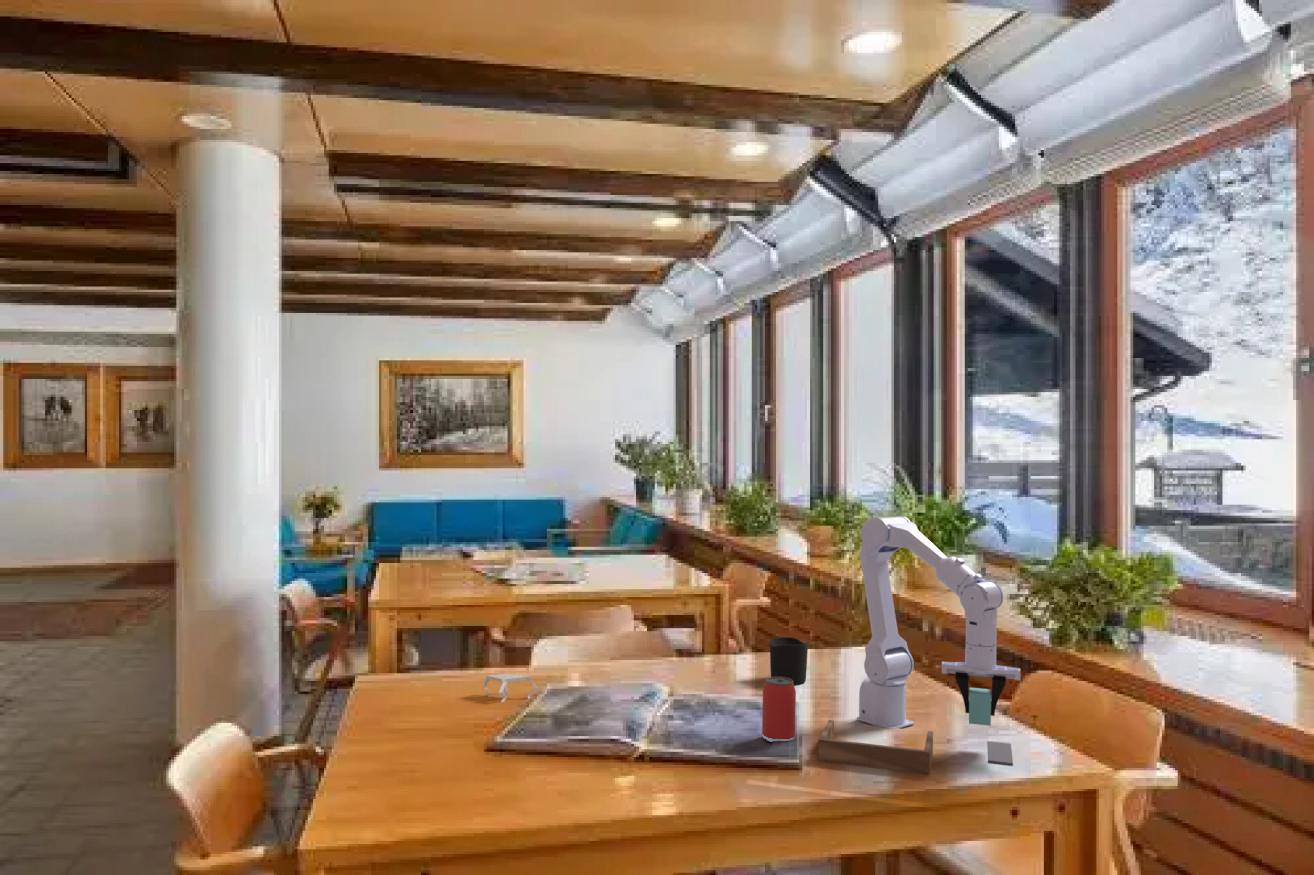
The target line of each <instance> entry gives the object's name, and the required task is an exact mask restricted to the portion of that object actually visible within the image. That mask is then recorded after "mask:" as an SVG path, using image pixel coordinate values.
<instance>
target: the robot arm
mask: <svg viewBox="0 0 1314 875" xmlns="http://www.w3.org/2000/svg"><path fill="white" fill-rule="evenodd" d="M860 536H861V537H860V538H861V547H860V553H859V556H860V557H859V558H860V564H861V565H860V566H861V570H862V571H861V572H862V578H863V582H864V583H863V584H864V590H865V597H866V603H867V610H868V611H867V612H868V616H869V618H868V619H869V624H870V631H871V636H872V637H871V639H870V640H869V642H868V643H867V644H866V646H865V647H864V649H865V650H864V651H865V658H864V663H863V666H864V667H863V668H864V671H865V672H864V673H865V674H866V676H867V677H866V678H865V679H863V681H861V684H860V687H859V697H858V702H859V703H858V708H859V709H858V716H857V717H856V720H857V721H859V722H863V723H865V724H866V723H867V724H868V725H873V726H875V727H884V728H888V729H891V730H892V729H902V728H906V727H909V726H913V725H915V721H912V720H910V719H906V718H907V716H906V715H907V714H906V708H907V707H906V706H907V704H906V703H907V702H906V701H907V696H906V695H907V682H908V681H909V676H910V675H911V674H912V673H913V672H914V671H913V670H914V667H915V666H914V665H915V664H914V659H913V656H912V654H911V652H910V650H909V647H908V642H907V641H906V640H905V639H904V638H902V637H901V636H900V634H899V631H898V630H899V629H898V624H897V617H896V611H895V604H894V599H893V592H892V584H891V578H890V574H889V566H888V561H889V559H890V558H891V557H892V556H893V554H894V553H895V552H896V551H898V550H899V549H901V548H903V549H904V548H905V549H907V550H909V551H910V552H912V553H913V554H914V555H916V556H917V557H918V558H919V559H921V560H923V561H924V562H925V563H926V564H927V565H929V566H931V568H933V569H935V576H936V578H937V580H939V581H940V582H941V583H942V584H943V585H944V586H946V587H947V588H948V589H949V590H950V591H952V593H954V594H955V595H956V596H957V597H958V598H959V602H960V604H961V606H962V608H963V609H964V617H965V649H964V650H965V652H964V653H965V655H964V657H965V658H964V659H965V661H964V662H963V661H955V662H953V661H941V674H943V675H945V674H946V675H947V674H954V675H955V681H956V684H957V686H958V688H959V690H960V693H961V696H962V701H963V705H964V710H965V714H969V690H970V687H969V686H970V683H969V682H970V676H975V677H986V678H987V677H988V678H991V717H995V715H996V714H995V713H996V709H997V704H998V701H999V700H1000V696H1001V694H1002V692H1003V690H1004V689H1005V686H1006V684H1007V681H1006V680H1007V679H1008V680H1009V679H1010V680H1014V681H1021V667H1020V668H1019V667H1011V666H1004V665H997V635H998V634H997V632H998V631H997V630H998V629H997V628H998V627H997V625H998V609H999V608H1000V607H1001V606H1002V604H1003V601H1004V594H1003V593H1004V592H1003V591H1002V590H1003V589H1001V586H1000V585H999V584H997V582H996V581H994V580H991V579H984V578H983V576H982V574H980V573H976V572H975V571H974V570H972V569H971V567H969V566H968V565H966V564H965V563H966V561H965V560H964V559H963V557H962V558H961V557H957V556H949V557H947V555H945V554H944V553H943V552H942V551H941V550H940V549H939V548H938V547H937V546H936V545H935V544H934V543H933V542H931V541H930V539H928V538H927V537H926V535H924V534H923V533H922V532H921V531H919V529H918V526H917V525H916V523H914V522H912V521H910V519H909V518H908V517H906V516H903V515H895V516H884V517H876V516H875V517H871V518H868V519H867V521H866V522H865V523H864V524H863V526H862V527H861V529H860Z"/></svg>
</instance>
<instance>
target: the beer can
mask: <svg viewBox="0 0 1314 875" xmlns="http://www.w3.org/2000/svg"><path fill="white" fill-rule="evenodd" d="M796 700H797V692H796V687H795V685H794V684H793V680H792V679H790V678H785V677H771V676H770V677H767V678H766V679H765V683H764V685H763V688H762V706H761V707H762V709H761V710H762V711H761V714H762V715H761V716H762V718H761V722H762V724H761V725H762V726H761V735H762V734H763V735H764V736H766V737H768V738H772V739H790V738H793V737H794V736H795V737H796V713H797V712H796V710H797V709H796V708H797V707H796Z"/></svg>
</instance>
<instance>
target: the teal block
mask: <svg viewBox="0 0 1314 875" xmlns="http://www.w3.org/2000/svg"><path fill="white" fill-rule="evenodd" d="M991 699H992V688H991V689H989V688H981V687H980V688H979V687H978V688H977V687H969V713H968V724H971V725H981V726H989V727H992V726H991V725H992V724H991V723H992V716H991Z"/></svg>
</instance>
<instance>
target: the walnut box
mask: <svg viewBox="0 0 1314 875" xmlns="http://www.w3.org/2000/svg"><path fill="white" fill-rule="evenodd" d="M834 725H835V720H830V719H829V720H828V721H827V723H826V725H825V727H824V729H823V730H822V732H821V734H820V736H819V737H818V740H817V742H818V745H817V746H818V749H817V761H818V762H826V763H832V764H833V763H834V764H840V765H841V764H842V765H851V766H856V767H858V766H859V767H863V768H864V767H866V768H872V769H873V768H875V769H881V770H890V771H897V772H905V773H912V774H913V773H914V774H922V775H930V773H931V768H932V767H931V766H932V760H933V754H934V731H931V730H928V731H927V732H926V733H927V734H926V740H925V745H924V749H916V748H909V747H901V746H900V747H898V746H891V745H882V744H873V743H866V742H865V743H864V742H858V741H857V742H856V741H847V740H839V739H834V738H835V736H834V735H835V734H834V732H835V726H834Z"/></svg>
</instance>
